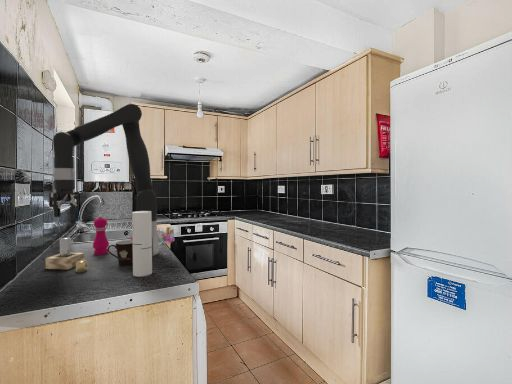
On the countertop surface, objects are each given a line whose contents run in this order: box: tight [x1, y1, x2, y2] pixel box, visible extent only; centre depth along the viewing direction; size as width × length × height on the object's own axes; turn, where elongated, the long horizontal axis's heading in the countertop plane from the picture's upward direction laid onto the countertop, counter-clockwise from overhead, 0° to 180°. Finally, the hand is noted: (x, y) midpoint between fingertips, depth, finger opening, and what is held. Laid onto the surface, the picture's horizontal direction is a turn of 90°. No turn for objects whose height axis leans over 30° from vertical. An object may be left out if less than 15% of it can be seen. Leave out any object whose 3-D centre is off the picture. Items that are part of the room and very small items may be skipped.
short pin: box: [75, 259, 88, 273], centre depth 114 cm, size 4×4×4 cm
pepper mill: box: [92, 214, 110, 256], centre depth 141 cm, size 7×7×20 cm
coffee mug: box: [107, 239, 133, 267], centre depth 123 cm, size 12×9×10 cm
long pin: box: [59, 237, 72, 257], centre depth 120 cm, size 4×4×12 cm
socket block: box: [45, 251, 86, 270], centre depth 121 cm, size 10×10×4 cm
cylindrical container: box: [131, 210, 153, 277], centre depth 110 cm, size 7×7×25 cm
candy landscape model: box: [130, 226, 175, 246], centre depth 168 cm, size 25×24×9 cm
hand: (65, 215), depth 120 cm, fingers open, 8 cm apart
